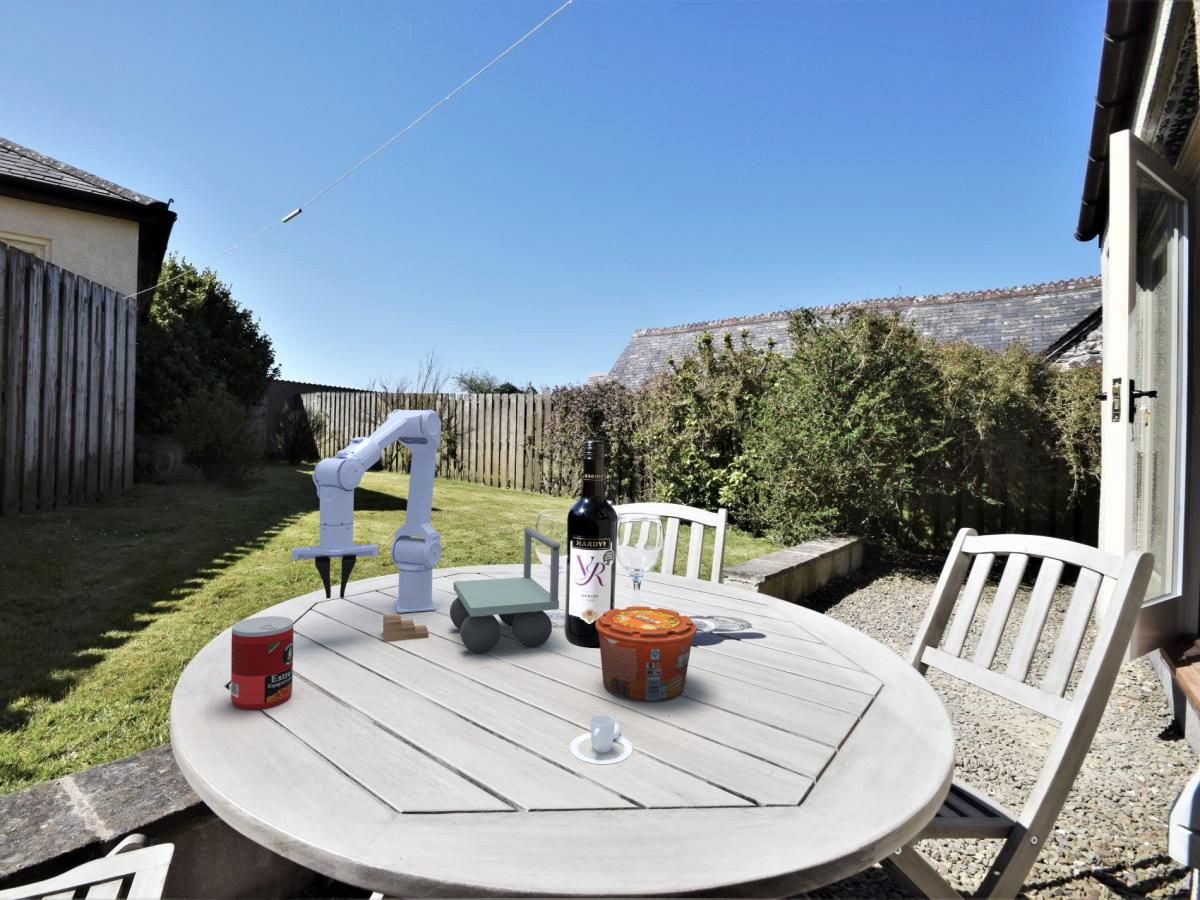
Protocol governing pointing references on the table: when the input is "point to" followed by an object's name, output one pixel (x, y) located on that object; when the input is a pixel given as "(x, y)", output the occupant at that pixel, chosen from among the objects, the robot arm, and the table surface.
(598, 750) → the teacup and saucer
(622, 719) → the table surface
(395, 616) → the block
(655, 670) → the food container
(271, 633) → the canned food
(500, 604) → the trolley
